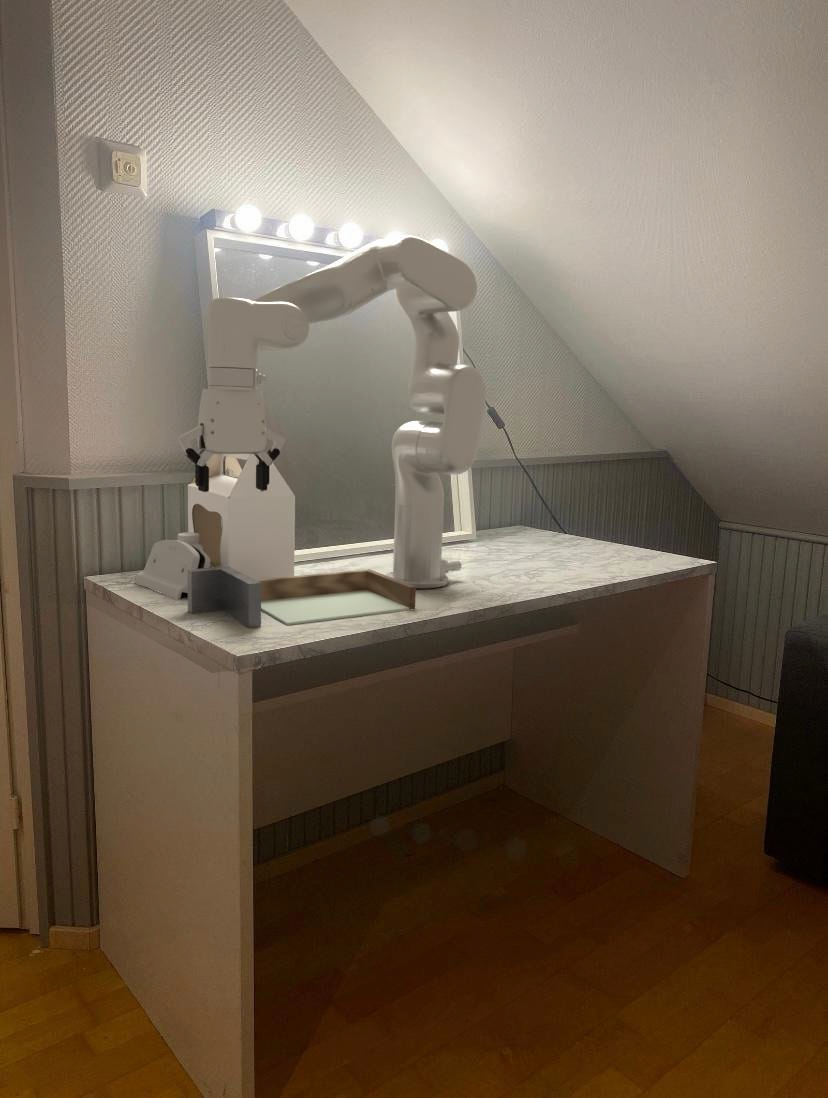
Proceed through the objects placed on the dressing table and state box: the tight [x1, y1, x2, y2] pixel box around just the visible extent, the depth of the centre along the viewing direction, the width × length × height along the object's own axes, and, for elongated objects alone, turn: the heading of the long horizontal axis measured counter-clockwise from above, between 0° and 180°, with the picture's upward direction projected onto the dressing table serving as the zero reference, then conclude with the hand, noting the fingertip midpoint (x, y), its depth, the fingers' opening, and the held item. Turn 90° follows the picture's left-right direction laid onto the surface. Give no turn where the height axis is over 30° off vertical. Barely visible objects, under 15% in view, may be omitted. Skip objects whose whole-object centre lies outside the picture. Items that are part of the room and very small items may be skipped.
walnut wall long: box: [256, 568, 374, 601], centre depth 151 cm, size 24×1×4 cm, turn 123°
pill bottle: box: [177, 531, 203, 551], centre depth 161 cm, size 5×5×9 cm
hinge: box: [134, 539, 210, 600], centre depth 153 cm, size 17×5×10 cm, turn 44°
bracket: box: [187, 566, 262, 629], centre depth 134 cm, size 7×14×7 cm, turn 33°
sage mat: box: [261, 590, 410, 626], centre depth 144 cm, size 23×15×1 cm, turn 123°
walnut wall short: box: [367, 570, 417, 611], centre depth 150 cm, size 1×15×4 cm, turn 33°
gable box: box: [187, 453, 296, 580], centre depth 162 cm, size 22×13×28 cm, turn 34°
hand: (233, 490), depth 134 cm, fingers open, 9 cm apart
